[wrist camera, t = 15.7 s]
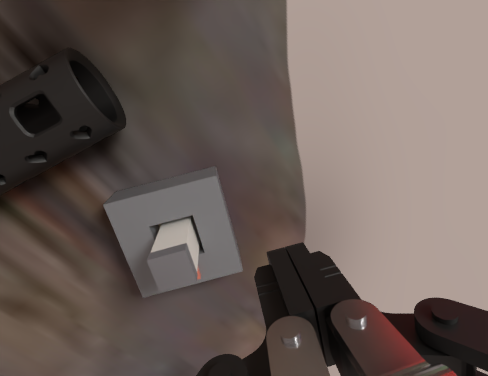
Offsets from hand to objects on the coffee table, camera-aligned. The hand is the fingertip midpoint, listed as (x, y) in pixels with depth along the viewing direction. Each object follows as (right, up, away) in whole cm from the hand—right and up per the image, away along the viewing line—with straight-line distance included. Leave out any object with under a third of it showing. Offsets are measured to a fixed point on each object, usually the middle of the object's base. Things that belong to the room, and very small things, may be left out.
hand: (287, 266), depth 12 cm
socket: (-11, -2, +30) cm, 32 cm away
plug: (-10, -2, +29) cm, 31 cm away
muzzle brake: (-30, +9, +25) cm, 40 cm away
